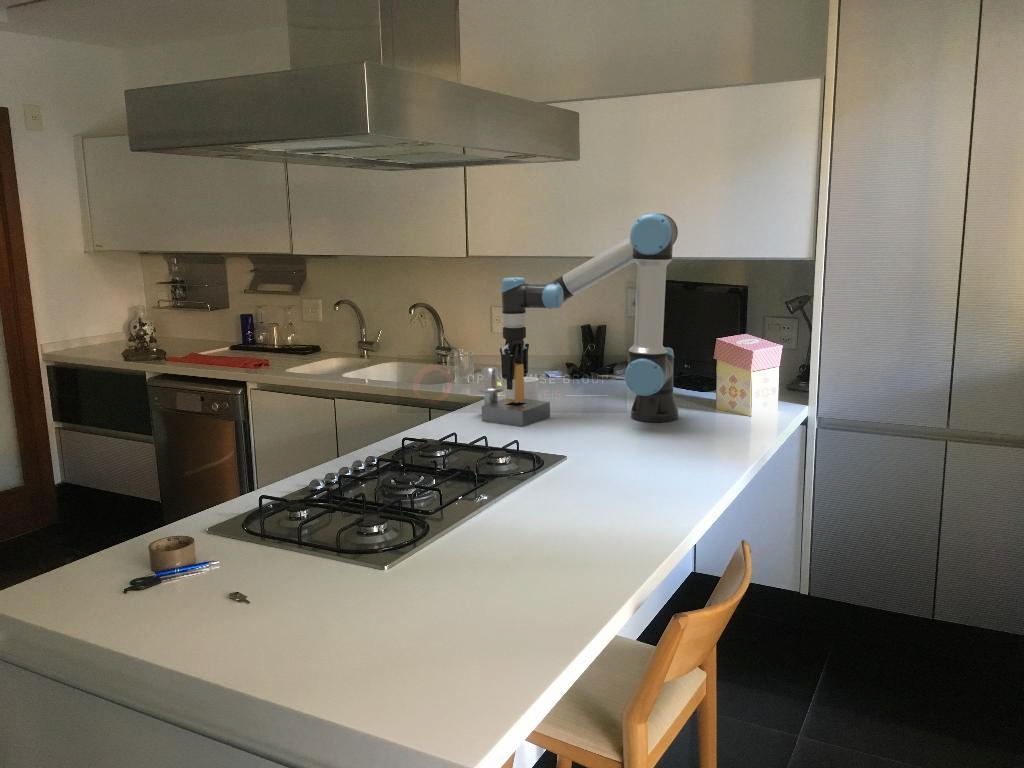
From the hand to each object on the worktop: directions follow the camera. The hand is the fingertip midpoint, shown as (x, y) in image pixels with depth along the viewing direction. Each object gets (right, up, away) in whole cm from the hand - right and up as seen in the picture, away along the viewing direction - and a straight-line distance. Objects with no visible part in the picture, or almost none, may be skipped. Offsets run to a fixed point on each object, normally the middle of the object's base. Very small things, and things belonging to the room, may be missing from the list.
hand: (515, 397), depth 271 cm
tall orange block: (0, -1, 0) cm, 1 cm away
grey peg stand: (-2, -7, +3) cm, 8 cm away
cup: (+2, -4, +18) cm, 19 cm away
